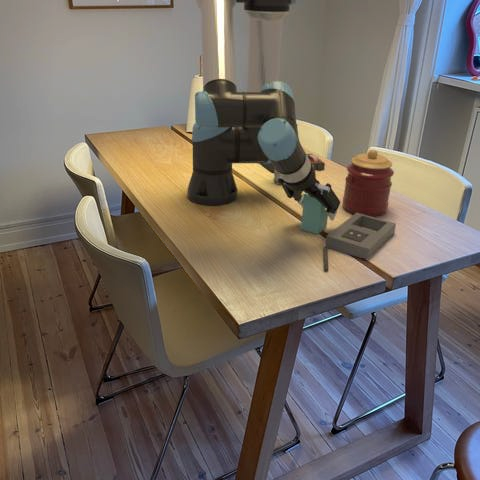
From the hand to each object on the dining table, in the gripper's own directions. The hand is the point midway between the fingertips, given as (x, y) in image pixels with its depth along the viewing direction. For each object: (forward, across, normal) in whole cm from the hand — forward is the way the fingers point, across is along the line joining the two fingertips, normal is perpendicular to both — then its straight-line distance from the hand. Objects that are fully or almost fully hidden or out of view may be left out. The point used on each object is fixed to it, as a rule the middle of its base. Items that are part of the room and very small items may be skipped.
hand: (321, 212), depth 132 cm
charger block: (0, 0, -5) cm, 5 cm away
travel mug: (+18, -25, +12) cm, 33 cm away
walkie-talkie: (+31, -24, +25) cm, 47 cm away
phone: (+26, -36, +21) cm, 49 cm away
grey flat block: (+1, +13, -4) cm, 13 cm away
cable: (-10, +10, -14) cm, 20 cm away
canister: (+15, +5, +10) cm, 19 cm away
